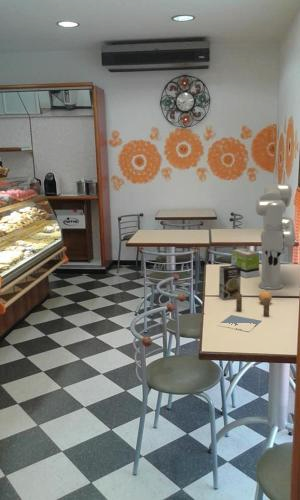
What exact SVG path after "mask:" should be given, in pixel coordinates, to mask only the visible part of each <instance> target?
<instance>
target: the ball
mask: <svg viewBox="0 0 300 500" xmlns="http://www.w3.org/2000/svg"><path fill="white" fill-rule="evenodd" d="M264 298H269V303H271V302H272V299H273V296H272V294H271V293H270V292H269V291H268V290H267V291H266V290H264V291H262V292H260V293H259V295H258V300H259V301H260V303H261V304H264Z"/></svg>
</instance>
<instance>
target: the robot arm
mask: <svg viewBox="0 0 300 500" xmlns="http://www.w3.org/2000/svg"><path fill="white" fill-rule="evenodd" d="M292 190H293V189H292V187H291V185H290V184H289V183H271V184H268V185H266V186H265V187H264V189H263V194H260V195H259V196H258V197H257V198H256V201H255V213H256V214H257V215H258V216H261V217H262V225H263V231H261V234H260V243H261V250H260V251H261V282H259V283H258V288H261V289H262V290H263V289H264V290H271V291H273V290H274V291H276V290H281V289H283V287H284V285H283V283H281V282H280V280H281V255H286V253H287V252H286V248H291V247H294V245H295V244H296V231H295V224H294V219H292V218H291V217H285V216H283V215H284V213H286V209H287V208H288V207H289V206H290V205H291V199H292V195H293V194H292V193H293V191H292Z"/></svg>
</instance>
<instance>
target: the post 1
mask: <svg viewBox="0 0 300 500" xmlns="http://www.w3.org/2000/svg"><path fill="white" fill-rule="evenodd" d="M242 296H243V293H240V294H236V299H235V301H236V302H235V306H236V308H235V311H236V312H237V313H239V312H240V313H241V312H242V311H243V309H242V307H243V305H242V304H243V303H242V302H243V301H242V300H243V297H242Z"/></svg>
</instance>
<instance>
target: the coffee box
mask: <svg viewBox="0 0 300 500" xmlns="http://www.w3.org/2000/svg"><path fill="white" fill-rule="evenodd" d="M218 270H219V276H218V277H219V279H218V281H219V284H218V285H219V286H218V288H219V289H218V290H219V291H218V297H219V298H221V300H223V301H228V300H236V294H241V281H242V279H241V278H242V276H241V267H239V266H236V265H221V266H219V269H218Z"/></svg>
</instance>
